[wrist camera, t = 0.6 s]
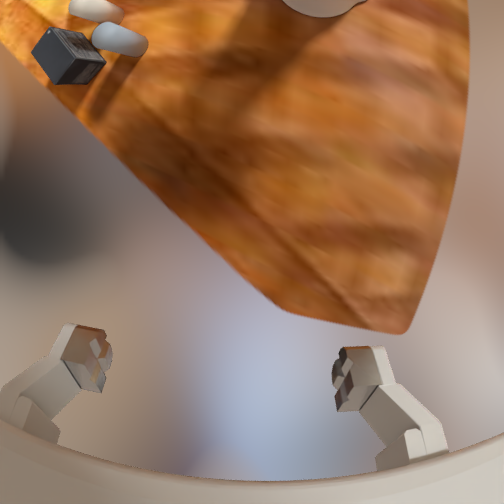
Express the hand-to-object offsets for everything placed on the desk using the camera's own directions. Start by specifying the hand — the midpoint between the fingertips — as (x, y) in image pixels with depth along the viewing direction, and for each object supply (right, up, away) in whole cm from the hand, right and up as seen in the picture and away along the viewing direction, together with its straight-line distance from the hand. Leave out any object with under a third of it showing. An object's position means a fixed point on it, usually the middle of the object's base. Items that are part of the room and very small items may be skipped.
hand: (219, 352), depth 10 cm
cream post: (-24, +47, +30) cm, 61 cm away
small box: (-31, +41, +34) cm, 61 cm away
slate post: (-19, +40, +33) cm, 55 cm away
